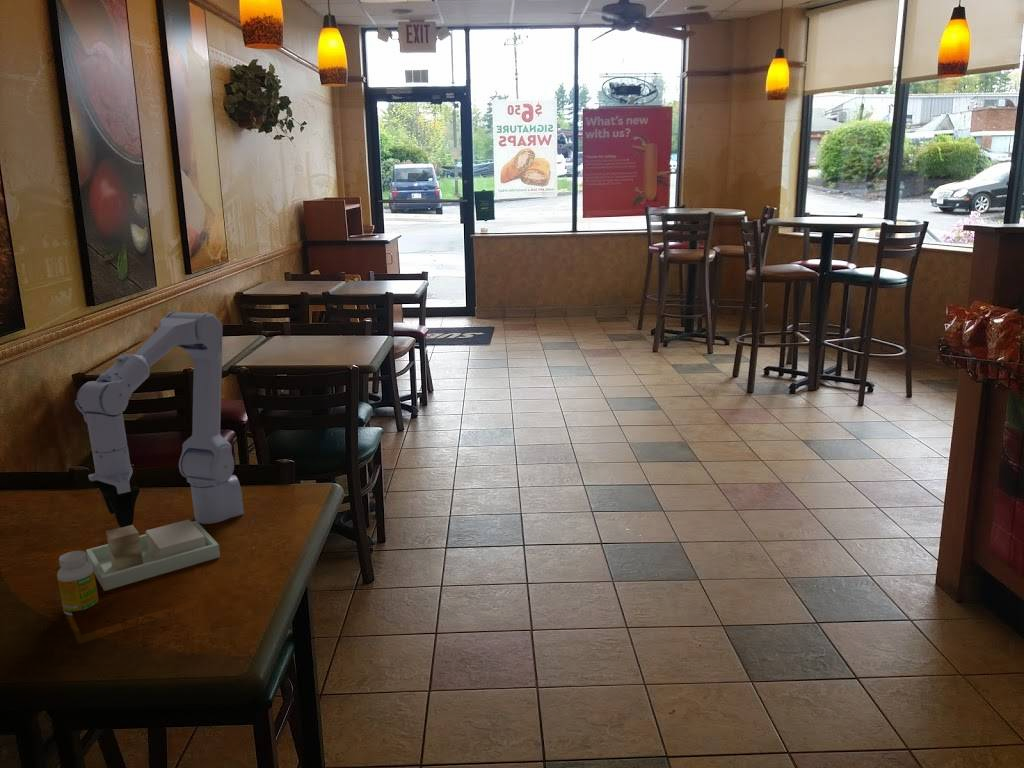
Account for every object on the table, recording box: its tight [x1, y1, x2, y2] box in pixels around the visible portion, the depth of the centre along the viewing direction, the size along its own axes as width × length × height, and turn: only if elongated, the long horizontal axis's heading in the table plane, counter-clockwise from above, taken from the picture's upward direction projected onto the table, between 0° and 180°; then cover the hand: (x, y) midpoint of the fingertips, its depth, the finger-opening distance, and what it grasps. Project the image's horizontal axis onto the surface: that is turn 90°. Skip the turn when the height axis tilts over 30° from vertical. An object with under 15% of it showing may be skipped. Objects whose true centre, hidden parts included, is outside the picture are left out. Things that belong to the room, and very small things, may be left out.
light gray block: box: [145, 519, 206, 560], centre depth 154 cm, size 8×10×4 cm
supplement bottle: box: [56, 550, 99, 617], centre depth 136 cm, size 5×5×10 cm
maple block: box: [105, 524, 143, 572], centre depth 149 cm, size 4×4×7 cm
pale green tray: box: [85, 520, 221, 592], centre depth 152 cm, size 20×14×4 cm
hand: (121, 518), depth 148 cm, fingers open, 7 cm apart
